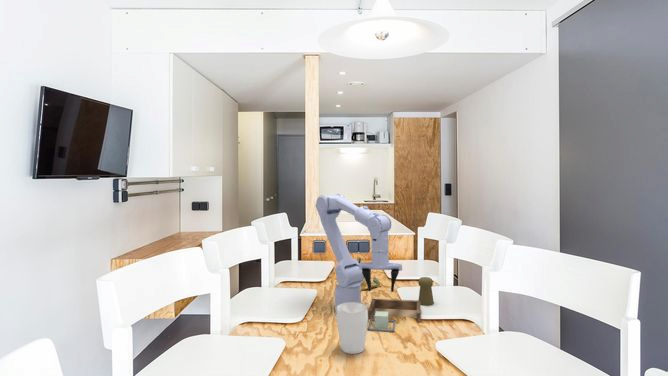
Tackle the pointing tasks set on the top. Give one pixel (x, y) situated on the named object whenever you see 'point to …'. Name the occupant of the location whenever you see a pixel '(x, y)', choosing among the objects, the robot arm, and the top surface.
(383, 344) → the top surface
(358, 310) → the cup
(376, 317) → the sage block
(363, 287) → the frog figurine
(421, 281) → the cork
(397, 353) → the top surface
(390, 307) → the brown wooden box
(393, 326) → the gray square frame
